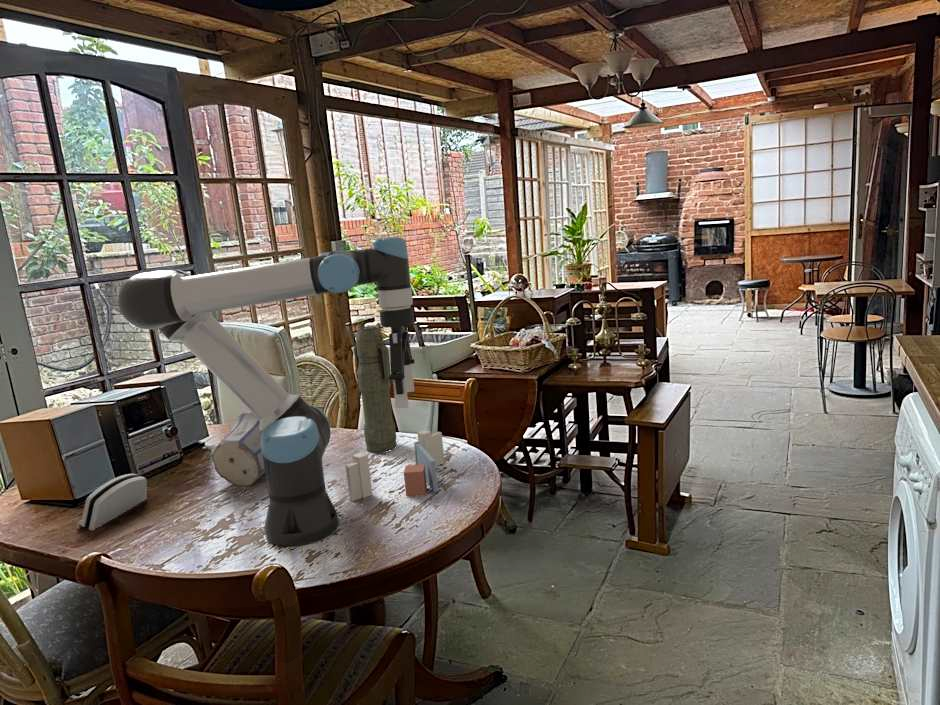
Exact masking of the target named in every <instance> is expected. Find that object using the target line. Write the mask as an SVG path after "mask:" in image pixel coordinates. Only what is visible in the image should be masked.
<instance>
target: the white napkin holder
mask: <svg viewBox="0 0 940 705" xmlns="http://www.w3.org/2000/svg"><path fill="white" fill-rule="evenodd" d="M147 483H148V480H147V478H146V477H145V476H140V475H139V474H137V473H128V474H127V473H125V474H123V475H120V476H117V477H115V478H112V479H110V480H108V481H107V482H105V483H103V484H102V485H100V486H99V487H98V488H96V489H95V490H93V492H92V493H90V494H89V496H87V498H86V499H85V502H84V508H83V512H82V517H81V519H80V520H79V521H77V524H76V525H77V526H76V529H77V530H79V529H82V528H85V527H88V530H89V531H95V530H97V529H99V528H100V527H102V526H104V525H106V524H107V522H108V521H109V522H111V521H113V520H115V519H116V518H118V517H119V515H120V516H121V514H122V513H123V514H125V513H126V511H127V510H129V509H130V510H132V509H133V508H132V507H134V506H136V505H137V504H139V503H141V502H143V501H144V500H146V499H147V493H148V492H147V491H148V489H147V488H148V486H147V485H148V484H147ZM146 501H147V500H146ZM144 502H145V501H144ZM144 502H143V503H144ZM141 504H142V503H141ZM139 505H140V504H139ZM137 506H138V505H137ZM137 506H136V507H137ZM131 508H132V509H131ZM134 508H135V507H134ZM130 510H129V511H130ZM124 512H125V513H124ZM127 512H128V511H127ZM123 514H122V515H123ZM117 516H118V517H117ZM114 518H115V519H114ZM112 519H113V520H112ZM110 520H111V521H110ZM109 522H108V523H109ZM105 523H106V524H105ZM103 524H104V525H103ZM98 527H99V528H98ZM96 528H97V529H96Z"/></svg>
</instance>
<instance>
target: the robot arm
mask: <svg viewBox="0 0 940 705" xmlns="http://www.w3.org/2000/svg"><path fill="white" fill-rule="evenodd" d="M406 242H407V241H406V240H405V239H404V238H403V237H401V236H400V237H398V236H395V237H394V236H393V237H385V238H375V239H373V240H372V242H371V247H370V248H366V249H365V248H364V249H352V250H338V251H337V250H335V251H332V250H331V251H328V252H321V253H320V254H319V255H318V256H313V257H307V258H306V257H305V258H300V259H299V258H298V259H291V260H287V261H280V262H274V263H268V264H267V263H265V264H260V265H254V266H248V267H241V268H235V269H234V268H233V269H230V270H229V269H228V270H223V271H216V272H210V273H203V274H202V273H201V274H196V275H191V274H189V273H188V272H185V271H183V270H181V269H177V268H176V269H175V268H167V267H166V268H164V267H163V268H159V269H155V270H153V271H147V272H141V273H138V274H134V275H133V276H131V277H129V278H128V279H126V281H125V282H124V283H123V285H121V288H119V289H120V290H119V291H118V295H117V305H118V308H119V311H120V313H121V315H122V317H124V319H125V320H126V321H127V322H128V323H130V324H131V325H133V327H134V326H135V327H137V328H138V329H142V330H152V331H153V330H158V331H160V333H161V334H162V335H164V337H165V338H166V339H167V340H168V341H169V342H179V343H182V344H183V345H184V346H185V347H186V349H188V350H189V351H190V352H191V353H192V354H193V355H194V356H195V357H196V358H197V359H198V360H199V361H200V362H201V363H202V364H203V365H204V367H206V368H207V370H209V372H211V373H212V375H214V377H216V379H218V380H219V381H220V383H221V384H222V385H224V386H225V388H226V389H228V390H229V391H230V392H231V393H232V395H233V396H235V398H237V400H238V401H240V402H241V403H242V404H243V405H244V407H246V408H247V409H248V411H249V412H252V413H253V414H254V415H255V416H256V417H257V418H258V419H259V421H260V431H261V432H262V433H261V444H260V447H261V452H262V455H263V461H264V468H265V473H264V475H265V479H266V480H265V481H266V486H267V493H268V498H269V500H268V508H267V513H266V518H265V522H264V523H265V524H264V530H265V531H264V532H265V538H266V540H267V541H268V542H269V543H271V544H273V545H276V546H280V547H281V546H282V547H295V546H303V545H307V544H312V543H314V542H317V541H319V540H322V539H324V538H327V537H328V536H330V535H331V534H332V533H334V532H335V531H336V530H337V528H338V527H339V516H338V512H337V509H336V508H335V505H334V503H333V502H332V500H331V498H330V496H329V494H328V492H327V489H326V481H325V475H324V467H323V457H324V454H325V451H326V449H327V447H328V446H329V444H330V441H331V424H330V422H329V419H328V417H327V415H326V414H325V413H324V411H322V410H321V409H320V408H319V407H317V406H314V405H311V404H308V403H307V401H305V400H304V399H303V397H301V396H300V395H299V394H291V393H289V392H287V391H286V390H285V389H284V388H283V387H282V386H281V385H280V384H279V382H277V381H276V380H275V378H274V377H272V375H271V374H270V373H269V372H268V371H267V370H266V369H265V368H264V367H263V366H262V365H261V363H259V362H258V361H257V360H256V359H255V358H254V357H253V356H252V355H251V354H250V353H249V352H248V351H247V350H246V349H245V348H244V346H242V345H241V344H240V343H239V342H238V341H237V340H236V338H235V337H234V336H233V335H231V333H230V332H229V331H228V330H227V329H226V328H225V327H224V326H223V325H222V324H221V323H220V322H219V321H218V320H217V319H216V318H215V317H214V316H213V313H214V312H219V311H225V310H226V311H227V310H231V309H238V308H243V307H248V306H254V305H263V304H268V303H274V302H280V301H287V300H292V299H293V300H294V299H300V298H305V297H306V298H307V297H311V296H317V295H326V294H330V293H331V294H332V293H334V294H341V293H347V292H349V291H350V290H351V289H353V288H354V287H355V286H356V285H362V284H372V283H375V285H376V290H377V293H376V294H375V296H374V297H375V298H376V299H378V307H379V308H380V311H379V320H380V326H381V327H383V328H391V332H390V333H389V334H388V340H389V362H390V373H391V376H389V380H390V381H392V385H393V387H392V388H393V394H394V404H395V409H396V410H397V409H406V408H407V409H408V408H409V400H408V398H409V397H408V393H413V392H415V386H414V385H415V383H414V376H413V375H414V374H413V364H415V359H414V358H413V356H412V350H411V344H410V338H409V330H408V326H410V325H411V326H412V325H413V324H414V323H415V316H414V315H415V314H414V308H413V307H412V305H413V302H414V301H413V290H412V285H411V274H410V260H409V254H408V247H407V243H406Z"/></svg>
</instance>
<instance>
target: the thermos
mask: <svg viewBox="0 0 940 705" xmlns="http://www.w3.org/2000/svg"><path fill="white" fill-rule="evenodd" d="M384 343H385V341H384V335H383V333H382V331H381V328H380V327H378V326H376V325H371V326H363V327H359V329H358V330H357V332H356V338H355V345H354V347H353V354H354V361H355V362H354V364H355V369H356V375H357V380H358V382H357V383H358V388H359V389H358V390H359V392H360V394H361V399H362V407H363V408H362V410H363V418H364V424H363V434H364V442H365V444H366V451H367V452H368V453H371V454H381V453H380V452H385V453H387V452H386V451H389V450H392V449H394V448H395V447H396V446H397V447H398V445H397V444H398V443H397V432H396V423H395V421H394V419H393V410H392V403H391V402H392V401H391V394H390V391H391V387H392V386H391V380H389V376H391V361H390V349H389V348H388V347H387V345H386V344H384ZM397 447H396V448H397ZM394 450H395V449H394ZM392 451H393V450H392ZM389 452H390V451H389Z"/></svg>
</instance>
